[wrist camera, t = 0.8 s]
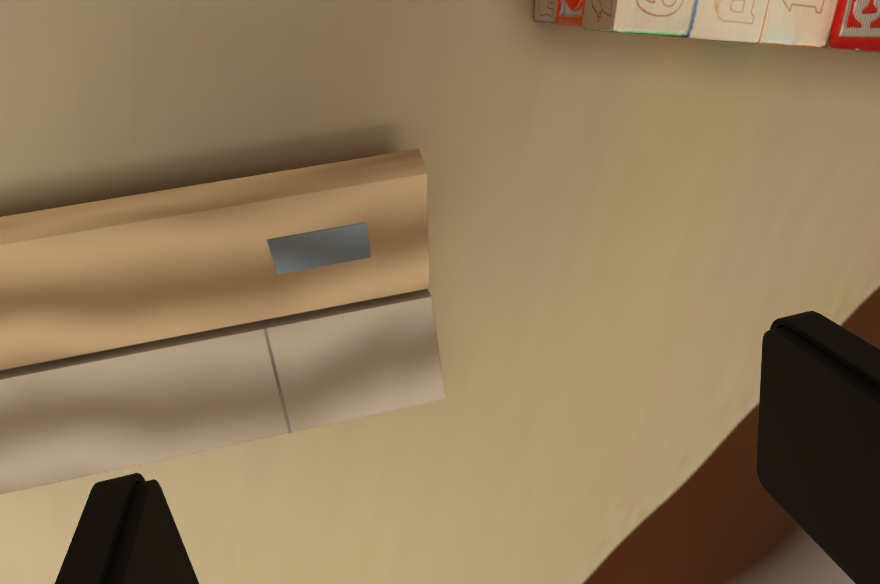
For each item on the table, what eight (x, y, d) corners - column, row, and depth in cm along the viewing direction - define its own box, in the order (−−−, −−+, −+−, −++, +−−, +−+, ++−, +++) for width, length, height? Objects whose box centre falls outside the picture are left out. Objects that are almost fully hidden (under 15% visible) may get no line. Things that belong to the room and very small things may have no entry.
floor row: (-60, 364, 34) (-76, 380, 33) (423, 273, 38) (429, 284, 36) (-8, 479, 37) (-20, 499, 35) (439, 385, 40) (445, 399, 39)
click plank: (-181, 246, 28) (-194, 278, 27) (418, 148, 31) (427, 174, 30) (-64, 355, 34) (-71, 384, 33) (422, 264, 37) (429, 289, 36)
